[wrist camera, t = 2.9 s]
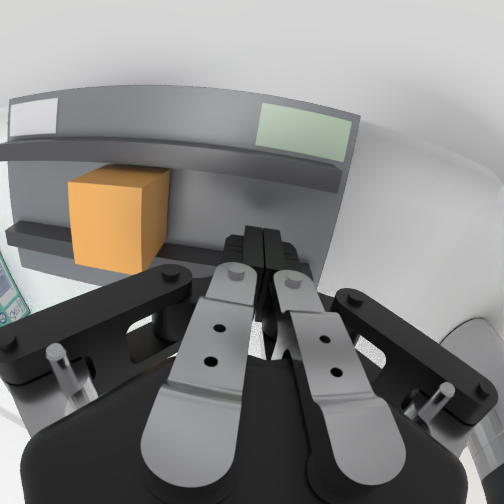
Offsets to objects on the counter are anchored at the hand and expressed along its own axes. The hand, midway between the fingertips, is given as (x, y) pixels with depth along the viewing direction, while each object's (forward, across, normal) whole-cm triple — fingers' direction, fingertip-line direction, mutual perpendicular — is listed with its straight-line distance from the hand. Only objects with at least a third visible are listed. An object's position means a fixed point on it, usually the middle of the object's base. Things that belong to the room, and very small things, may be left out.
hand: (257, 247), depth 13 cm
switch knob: (+4, +7, 0) cm, 8 cm away
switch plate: (+9, +7, 0) cm, 11 cm away
